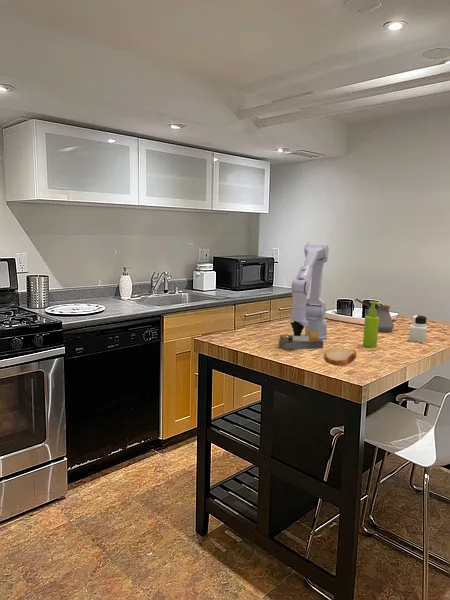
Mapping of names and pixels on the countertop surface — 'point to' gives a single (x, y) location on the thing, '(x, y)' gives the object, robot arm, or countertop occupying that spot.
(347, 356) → the bread slice
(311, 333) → the brushed gold cube
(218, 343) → the countertop surface
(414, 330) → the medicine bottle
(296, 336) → the steel lever
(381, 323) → the coffee pot
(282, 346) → the grey piece
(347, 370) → the countertop surface
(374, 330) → the soap dispenser
